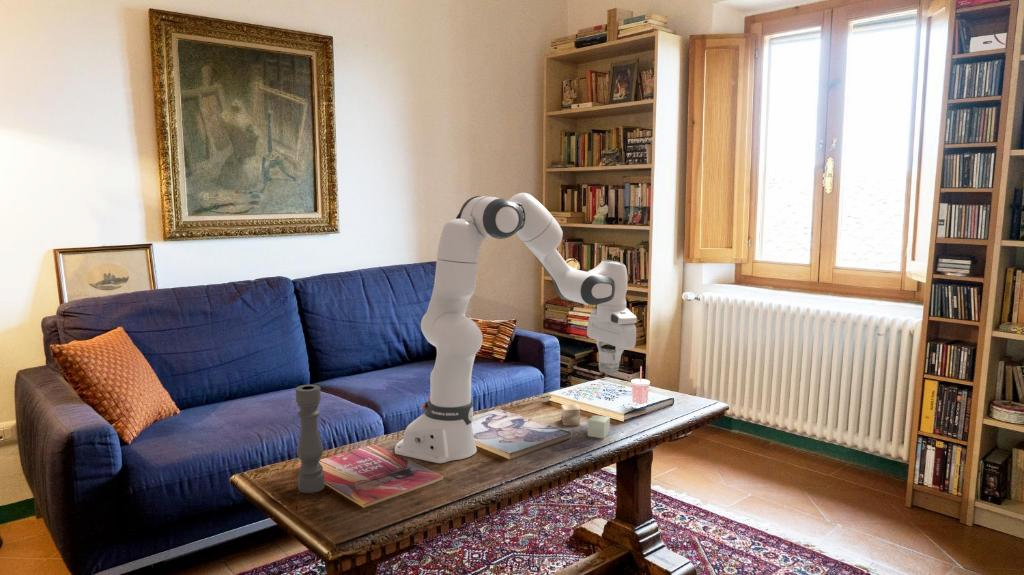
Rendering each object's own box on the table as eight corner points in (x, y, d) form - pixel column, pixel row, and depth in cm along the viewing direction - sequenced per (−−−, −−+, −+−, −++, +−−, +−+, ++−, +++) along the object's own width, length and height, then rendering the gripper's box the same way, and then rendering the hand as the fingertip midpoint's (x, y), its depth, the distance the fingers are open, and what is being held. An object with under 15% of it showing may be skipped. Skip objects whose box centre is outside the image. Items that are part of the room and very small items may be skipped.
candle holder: (304, 481, 178) (300, 383, 174) (328, 482, 178) (325, 384, 174) (294, 492, 172) (290, 391, 168) (319, 493, 172) (315, 392, 168)
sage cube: (587, 436, 212) (588, 419, 211) (593, 430, 216) (593, 414, 215) (603, 439, 210) (604, 422, 209) (609, 433, 214) (609, 417, 213)
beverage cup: (634, 411, 235) (635, 369, 232) (627, 405, 240) (628, 364, 238) (651, 410, 236) (653, 368, 234) (644, 404, 242) (646, 363, 240)
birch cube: (563, 425, 221) (564, 409, 220) (561, 420, 225) (561, 404, 225) (579, 425, 221) (580, 409, 220) (577, 419, 226) (577, 404, 225)
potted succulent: (612, 374, 217) (613, 349, 216) (594, 370, 221) (595, 345, 220) (622, 370, 222) (624, 345, 221) (604, 367, 226) (606, 342, 225)
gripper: (583, 308, 226) (581, 351, 228) (623, 320, 209) (621, 366, 211) (599, 307, 229) (597, 349, 231) (640, 318, 212) (638, 364, 214)
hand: (609, 357), depth 221 cm, fingers closed on potted succulent, 6 cm apart
